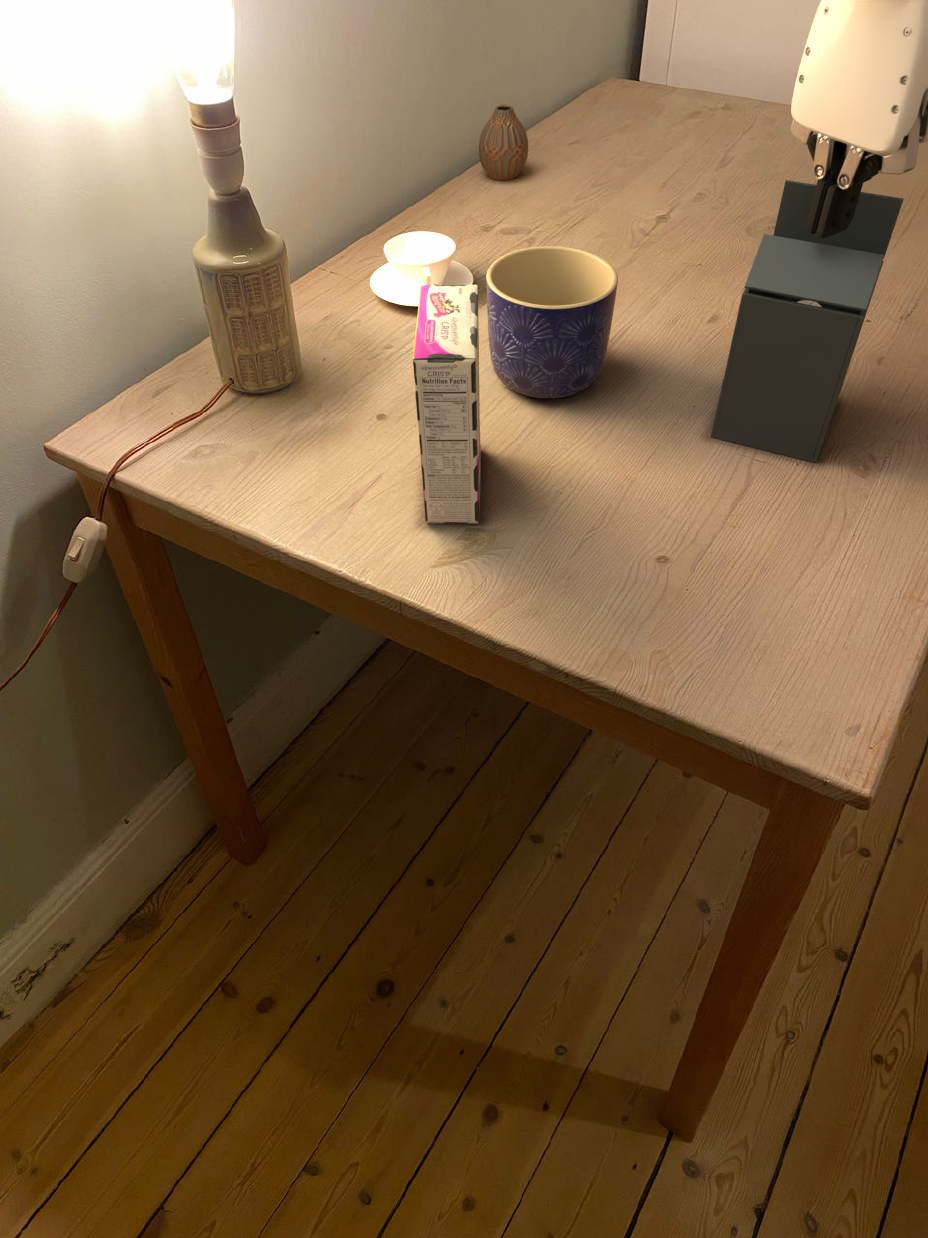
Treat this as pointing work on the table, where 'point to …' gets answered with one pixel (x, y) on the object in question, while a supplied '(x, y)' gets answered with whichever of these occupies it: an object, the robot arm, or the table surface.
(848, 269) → the panel
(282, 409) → the table surface
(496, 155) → the vase
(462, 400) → the candy bar box
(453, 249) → the teacup
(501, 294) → the planter
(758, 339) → the chute
